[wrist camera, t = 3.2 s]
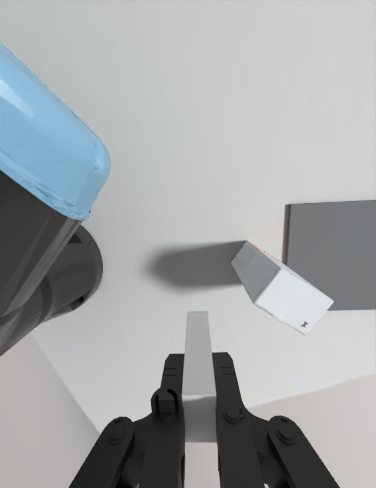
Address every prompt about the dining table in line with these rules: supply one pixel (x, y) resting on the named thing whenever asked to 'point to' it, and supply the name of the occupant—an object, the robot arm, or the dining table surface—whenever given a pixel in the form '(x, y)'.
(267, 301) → the skincare box
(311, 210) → the mat
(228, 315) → the dining table surface
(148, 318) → the dining table surface
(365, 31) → the dining table surface
